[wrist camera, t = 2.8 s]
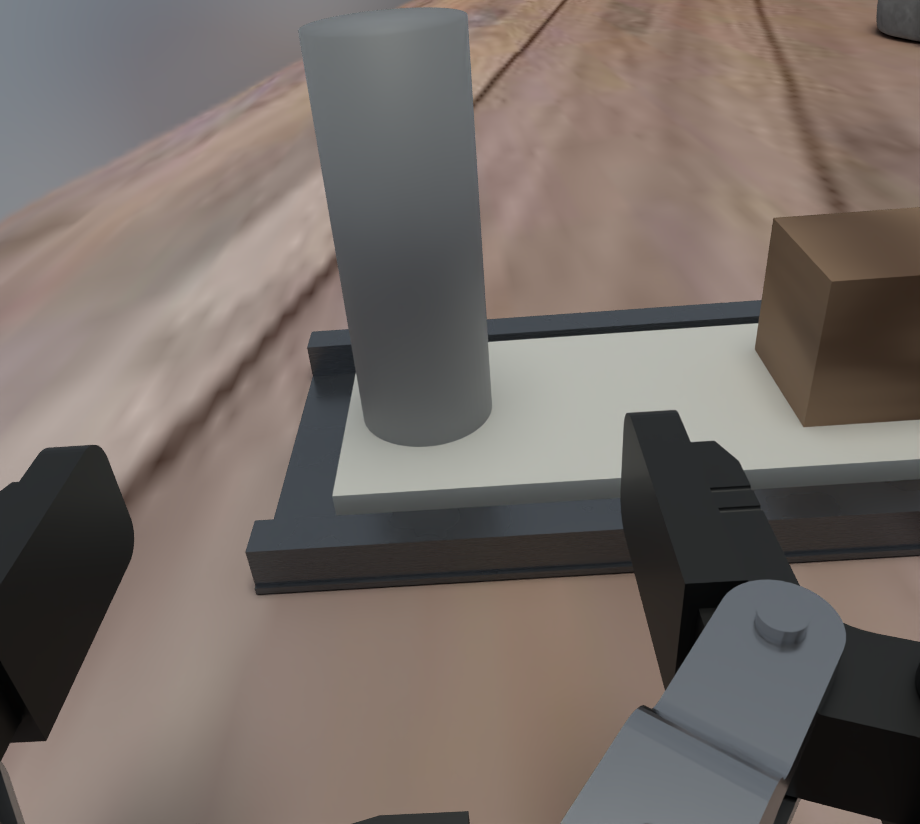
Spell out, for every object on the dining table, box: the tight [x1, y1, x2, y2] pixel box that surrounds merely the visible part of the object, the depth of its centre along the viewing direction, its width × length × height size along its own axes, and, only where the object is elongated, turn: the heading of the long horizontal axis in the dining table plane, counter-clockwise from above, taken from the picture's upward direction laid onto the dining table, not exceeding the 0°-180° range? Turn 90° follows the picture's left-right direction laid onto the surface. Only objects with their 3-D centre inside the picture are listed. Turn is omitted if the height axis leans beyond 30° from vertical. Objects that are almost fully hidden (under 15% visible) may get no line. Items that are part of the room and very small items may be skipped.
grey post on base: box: [298, 8, 920, 516], centre depth 22 cm, size 22×8×12 cm, turn 90°
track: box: [246, 300, 920, 594], centre depth 25 cm, size 34×12×1 cm, turn 90°
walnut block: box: [755, 207, 920, 427], centre depth 24 cm, size 4×4×4 cm
